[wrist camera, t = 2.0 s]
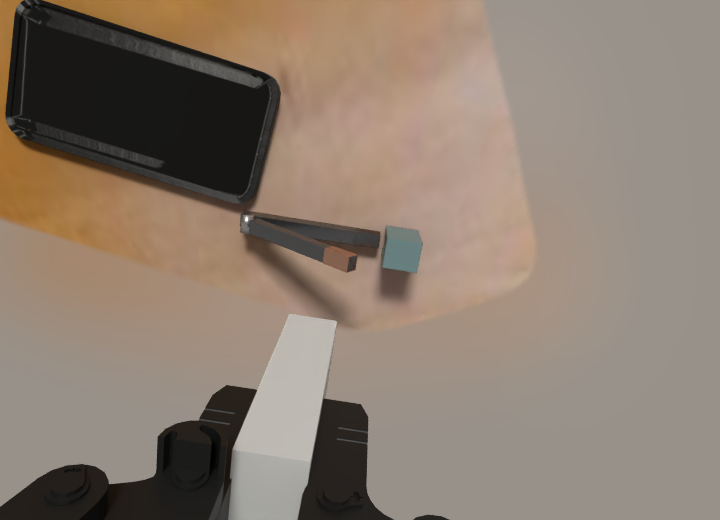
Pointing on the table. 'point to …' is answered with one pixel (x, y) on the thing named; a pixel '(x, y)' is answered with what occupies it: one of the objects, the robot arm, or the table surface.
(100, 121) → the phone
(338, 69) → the table surface
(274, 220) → the arm
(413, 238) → the teal matte cube
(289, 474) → the robot arm
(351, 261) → the bar
